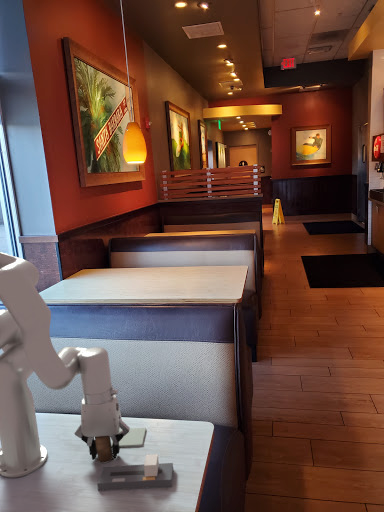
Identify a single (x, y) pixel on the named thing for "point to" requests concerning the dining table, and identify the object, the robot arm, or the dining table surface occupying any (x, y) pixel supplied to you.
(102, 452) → the tool handle
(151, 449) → the dining table surface
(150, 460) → the switch tab
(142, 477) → the switch board
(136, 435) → the mat
